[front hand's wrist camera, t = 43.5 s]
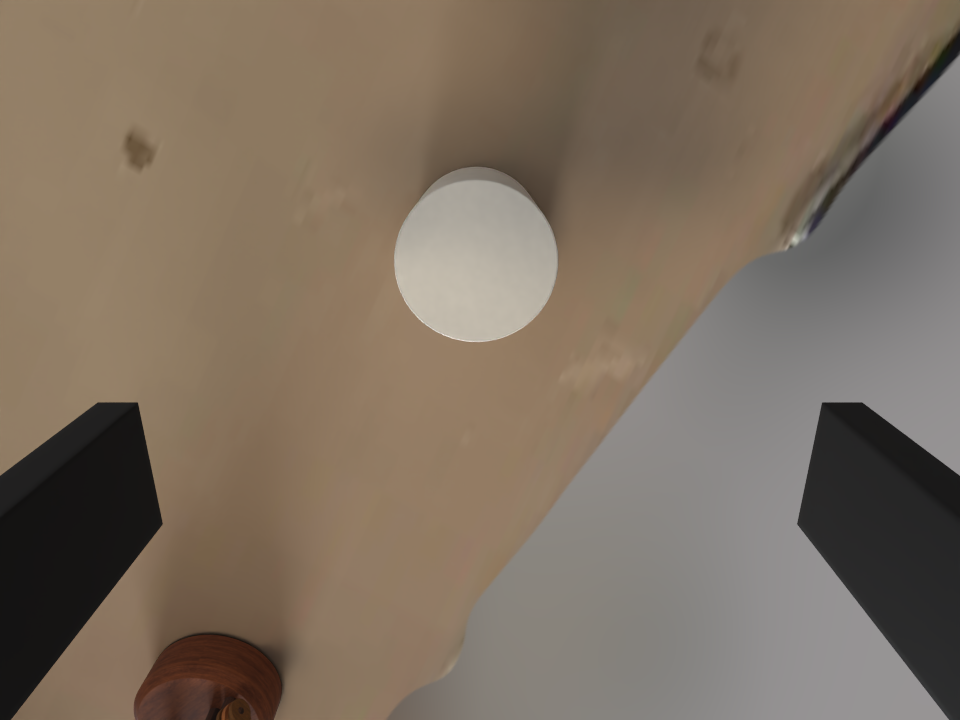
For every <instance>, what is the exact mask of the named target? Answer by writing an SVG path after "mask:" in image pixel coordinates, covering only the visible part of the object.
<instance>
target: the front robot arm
mask: <svg viewBox="0 0 960 720" xmlns="http://www.w3.org/2000/svg"><path fill="white" fill-rule="evenodd" d="M162 524H163V523H162V518H161V513H160V508H159V503H158V499H157V494H156V489H155V484H154V479H153V474H152V469H151V464H150V460H149V455H148V450H147V445H146V440H145V435H144V430H143V425H142V421H141V416H140V411H139V406H138V403H97V404H95V405H94V406H93V407H91V408H90V409H89V410H87V411H86V412H85V413H83V414H82V415H81V416H79V417H78V418H77V419H75V420H74V421H73V422H71V423H70V424H69V425H67V426H66V427H65V428H63V429H62V430H61V431H59V432H58V433H57V434H55V435H54V436H53V437H51V438H50V439H49V440H47V441H46V442H45V443H43V444H42V445H41V446H39V447H38V448H37V449H35V450H34V451H33V452H31V453H30V454H29V455H27V456H26V457H25V458H23V459H22V460H21V461H19V462H18V463H17V464H15V465H14V466H13V467H11V468H10V469H9V470H7V471H6V472H5V473H3V474H2V475H1V476H0V720H11V719H12V718H13V716H14V715H15V714H16V712H17V711H18V710H19V709H20V707H21V706H22V705H23V703H24V702H25V701H26V700H27V698H28V697H29V696H30V694H31V693H32V692H33V691H34V689H35V688H36V687H37V685H38V684H39V683H40V682H41V680H42V679H43V678H44V676H45V675H46V674H47V673H48V671H49V670H50V669H51V667H52V666H53V665H54V663H55V662H56V661H57V660H58V658H59V657H60V656H61V654H62V653H63V652H64V651H65V649H66V648H67V647H68V645H69V644H70V643H71V642H72V640H73V639H74V638H75V636H76V635H77V634H78V633H79V631H80V630H81V629H82V627H83V626H84V625H85V624H86V622H87V621H88V620H89V618H90V617H91V616H92V615H93V613H94V612H95V611H96V609H97V608H98V607H99V606H100V604H101V603H102V602H103V600H104V599H105V598H106V597H107V595H108V594H109V593H110V591H111V590H112V589H113V588H114V586H115V585H116V584H117V582H118V581H119V580H120V579H121V577H122V576H123V575H124V573H125V572H126V571H127V570H128V568H129V567H130V566H131V564H132V563H133V562H134V560H135V559H136V558H137V557H138V555H139V554H140V553H141V551H142V550H143V549H144V548H145V546H146V545H147V544H148V542H149V541H150V540H151V539H152V537H153V536H154V535H155V533H156V532H157V531H158V530H159V528H160V527H161V526H162ZM797 524H798V526H799V527H800V528H801V530H802V531H803V532H804V533H805V535H806V536H807V537H808V539H809V540H810V541H811V542H812V544H813V545H814V546H815V548H816V549H817V550H818V551H819V553H820V554H821V555H822V557H823V558H824V559H825V560H826V562H827V563H828V564H829V566H830V567H831V568H832V569H833V571H834V572H835V573H836V575H837V576H838V577H839V578H840V580H841V581H842V582H843V584H844V585H845V586H846V588H847V589H848V590H849V591H850V593H851V594H852V595H853V597H854V598H855V599H856V600H857V602H858V603H859V604H860V606H861V607H862V608H863V609H864V611H865V612H866V613H867V615H868V616H869V617H870V618H871V620H872V621H873V622H874V624H875V625H876V626H877V627H878V629H879V630H880V631H881V633H882V634H883V635H884V636H885V638H886V639H887V640H888V642H889V643H890V644H891V645H892V647H893V648H894V649H895V651H896V652H897V653H898V654H899V656H900V657H901V658H902V660H903V661H904V662H905V663H906V665H907V666H908V667H909V669H910V670H911V671H912V672H913V674H914V675H915V676H916V678H917V679H918V680H919V681H920V683H921V684H922V685H923V687H924V688H925V689H926V690H927V692H928V693H929V694H930V696H931V697H932V698H933V700H934V701H935V702H936V703H937V705H938V706H939V707H940V708H941V710H942V711H943V712H944V714H945V715H946V716H947V718H948V719H949V720H960V476H959V475H958V474H957V473H955V472H954V471H953V470H951V469H950V468H949V467H947V466H946V465H945V464H943V463H942V462H941V461H939V460H938V459H937V458H935V457H934V456H933V455H931V454H930V453H929V452H927V451H926V450H925V449H923V448H922V447H921V446H919V445H918V444H917V443H915V442H914V441H913V440H911V439H910V438H909V437H907V436H906V435H905V434H903V433H902V432H901V431H899V430H898V429H897V428H895V427H894V426H893V425H891V424H890V423H889V422H887V421H886V420H885V419H883V418H882V417H881V416H879V415H878V414H877V413H875V412H874V411H873V410H871V409H870V408H869V407H867V406H866V405H865V404H863V403H822V406H821V411H820V416H819V421H818V425H817V431H816V435H815V440H814V445H813V450H812V455H811V460H810V464H809V470H808V474H807V479H806V484H805V489H804V494H803V499H802V503H801V508H800V513H799V518H798V523H797Z"/></svg>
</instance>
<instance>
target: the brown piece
mask: <svg viewBox="0 0 960 720" xmlns="http://www.w3.org/2000/svg"><path fill="white" fill-rule="evenodd" d="M281 693H282V688H281V681H280V678H279V675H278V673H277V671H276V669H275V667H274V666H273V665H272V663H271V662H270V661H269V660H268V659H267V658H266V657H265V656H264V655H263V654H262V653H261V652H259V651H258V650H257V649H255V648H254V647H252V646H250V645H248V644H246V643H244V642H242V641H239V640H237V639H234V638H230V637H226V636H220V635H198V636H192V637H188V638H185V639H182V640H179V641H177V642H175V643H173V644H172V645H170V646H169V647H168V648H166V649H165V650H164V651H163V652H162V653H161V654H160V656H159V657H158V659H157V660H156V662H155V664H154V665H153V667H152V669H151V670H150V672H149V674H148V675H147V677H146V679H145V680H144V682H143V684H142V686H141V687H140V689H139V691H138V693H137V695H136V698H135V701H134V715H135V720H274V717H275V714H276V711H277V708H278V705H279V702H280V699H281Z"/></svg>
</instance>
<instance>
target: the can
mask: <svg viewBox="0 0 960 720" xmlns="http://www.w3.org/2000/svg"><path fill="white" fill-rule="evenodd" d="M394 267H395V275H396V279H397V284H398V286H399V289H400V292H401V294H402V296H403V298H404V300H405V302H406V304H407V305H408V306H409V308H410V309H411V310H412V312H413V313H414V314H415V315H416V316H417V317H418V318H419V319H420V320H421V321H422V322H423V323H424V324H426V325H427V326H428V327H430V328H431V329H433V330H434V331H436V332H438V333H440V334H442V335H444V336H447V337H450V338H453V339H457V340H462V341H469V342H484V341H491V340H496V339H499V338H503V337H506V336H508V335H510V334H512V333H515V332H516V331H518V330H520V329H521V328H523V327H524V326H526V325H527V324H528V323H529V322H531V321H532V320H533V319H534V318H535V317H536V316H537V315H538V314H539V312H540V311H541V310H542V308H543V307H544V306H545V304H546V303H547V301H548V299H549V297H550V295H551V293H552V290H553V288H554V285H555V281H556V277H557V271H558V250H557V244H556V240H555V237H554V233H553V231H552V229H551V226H550V224H549V222H548V221H547V219H546V217H545V216H544V214H543V213H542V211H541V210H540V209H539V207H538V206H537V204H536V203H535V202H534V200H533V199H532V197H531V196H530V195H529V193H528V192H527V191H526V190H525V188H524V187H523V186H522V185H521V184H520V183H519V182H518V181H516V180H515V179H513V178H512V177H511V176H509V175H507V174H505V173H503V172H501V171H498V170H495V169H491V168H487V167H466V168H461V169H458V170H455V171H452V172H450V173H448V174H446V175H444V176H442V177H441V178H439V179H438V180H437V181H435V182H434V183H433V184H432V185H431V186H430V187H429V188H428V189H427V191H426V192H425V193H424V194H423V196H422V197H421V198H420V200H419V201H418V202H417V204H416V205H415V206H414V208H413V209H412V210H411V212H410V213H409V215H408V216H407V218H406V219H405V221H404V223H403V225H402V227H401V229H400V232H399V235H398V238H397V241H396V246H395V252H394Z"/></svg>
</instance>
